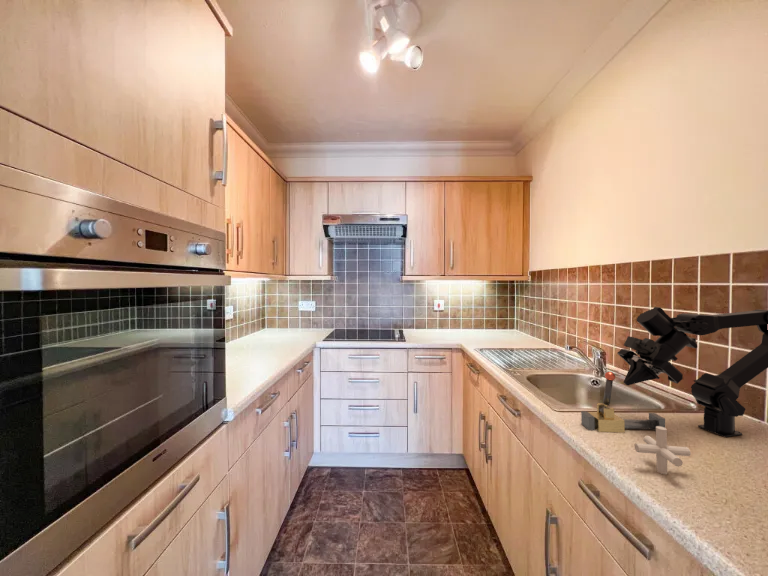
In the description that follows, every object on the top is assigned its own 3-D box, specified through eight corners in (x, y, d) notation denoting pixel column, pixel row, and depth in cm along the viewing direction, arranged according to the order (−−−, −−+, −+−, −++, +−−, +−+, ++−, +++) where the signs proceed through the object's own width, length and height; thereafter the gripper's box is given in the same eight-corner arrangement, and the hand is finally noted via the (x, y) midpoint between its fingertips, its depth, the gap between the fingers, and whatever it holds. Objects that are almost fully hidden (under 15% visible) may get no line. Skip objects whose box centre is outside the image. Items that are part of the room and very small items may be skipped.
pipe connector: (706, 488, 64) (705, 440, 64) (650, 483, 66) (650, 436, 66) (671, 461, 74) (671, 420, 74) (624, 457, 76) (623, 417, 76)
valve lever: (606, 413, 93) (612, 371, 93) (612, 417, 91) (618, 373, 90) (597, 412, 94) (603, 370, 93) (602, 416, 91) (608, 372, 91)
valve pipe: (652, 425, 93) (652, 403, 93) (667, 433, 88) (667, 411, 88) (580, 423, 96) (579, 402, 96) (590, 431, 90) (589, 409, 90)
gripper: (623, 323, 100) (587, 357, 101) (670, 332, 82) (625, 373, 83) (650, 348, 99) (613, 381, 101) (703, 362, 81) (657, 403, 82)
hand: (625, 383), depth 92 cm, fingers closed
